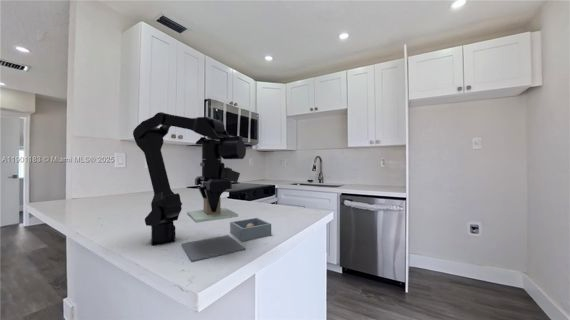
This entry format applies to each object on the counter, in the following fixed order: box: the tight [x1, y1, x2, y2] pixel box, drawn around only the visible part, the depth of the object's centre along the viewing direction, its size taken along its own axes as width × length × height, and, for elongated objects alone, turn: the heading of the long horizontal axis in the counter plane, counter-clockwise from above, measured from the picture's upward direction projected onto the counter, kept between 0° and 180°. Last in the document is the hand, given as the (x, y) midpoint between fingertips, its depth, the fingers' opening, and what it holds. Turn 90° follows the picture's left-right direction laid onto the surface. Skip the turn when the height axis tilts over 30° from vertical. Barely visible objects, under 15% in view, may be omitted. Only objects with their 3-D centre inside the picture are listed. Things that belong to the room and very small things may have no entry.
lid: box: [186, 197, 239, 224], centre depth 70 cm, size 12×12×5 cm
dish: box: [229, 217, 272, 242], centre depth 82 cm, size 11×11×4 cm
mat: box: [180, 234, 246, 263], centre depth 70 cm, size 15×15×1 cm
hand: (211, 210), depth 70 cm, fingers closed on lid, 4 cm apart
